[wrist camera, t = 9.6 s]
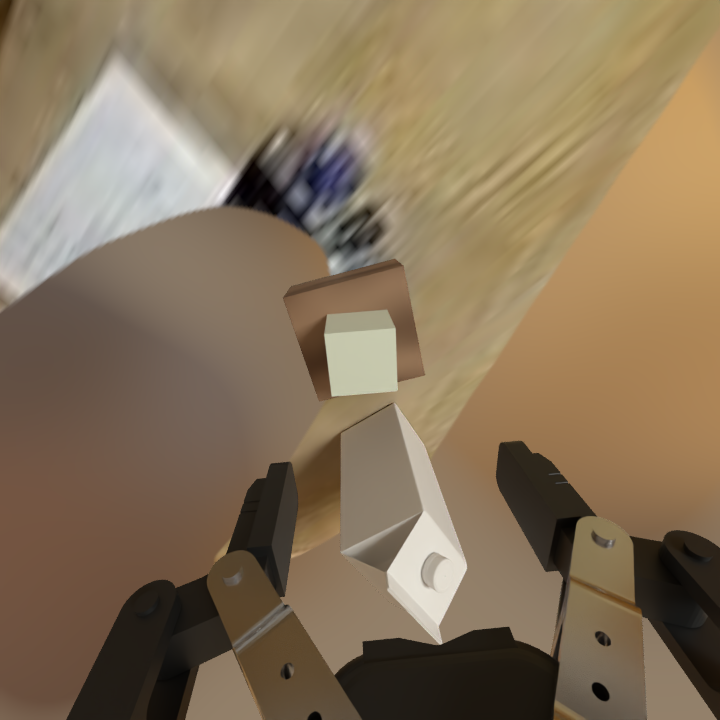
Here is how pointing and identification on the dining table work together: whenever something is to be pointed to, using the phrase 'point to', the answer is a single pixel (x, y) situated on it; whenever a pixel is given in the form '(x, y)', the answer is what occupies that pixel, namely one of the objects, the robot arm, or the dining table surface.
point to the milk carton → (398, 518)
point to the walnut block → (346, 295)
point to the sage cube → (361, 352)
